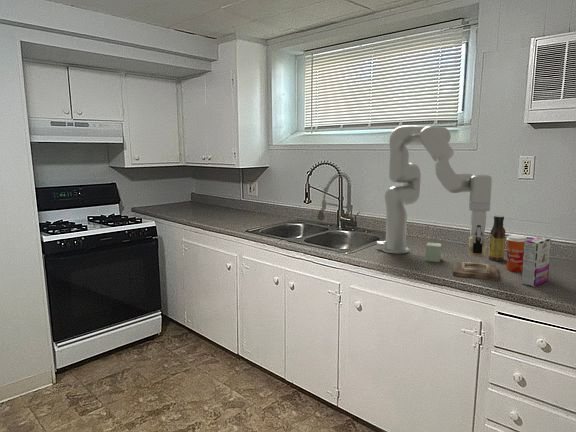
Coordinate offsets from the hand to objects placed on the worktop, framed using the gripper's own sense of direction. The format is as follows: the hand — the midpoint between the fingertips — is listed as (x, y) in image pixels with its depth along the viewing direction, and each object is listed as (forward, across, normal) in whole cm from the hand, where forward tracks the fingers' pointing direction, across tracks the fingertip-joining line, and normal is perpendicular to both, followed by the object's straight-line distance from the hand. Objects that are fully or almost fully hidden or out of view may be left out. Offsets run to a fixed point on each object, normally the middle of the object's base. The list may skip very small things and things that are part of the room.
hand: (477, 250), depth 166 cm
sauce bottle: (+9, -24, +9) cm, 27 cm away
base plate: (+9, 0, 0) cm, 9 cm away
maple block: (+2, 0, 0) cm, 2 cm away
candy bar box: (+9, +6, +20) cm, 23 cm away
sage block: (+9, -14, -17) cm, 24 cm away
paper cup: (+9, -9, +15) cm, 20 cm away
